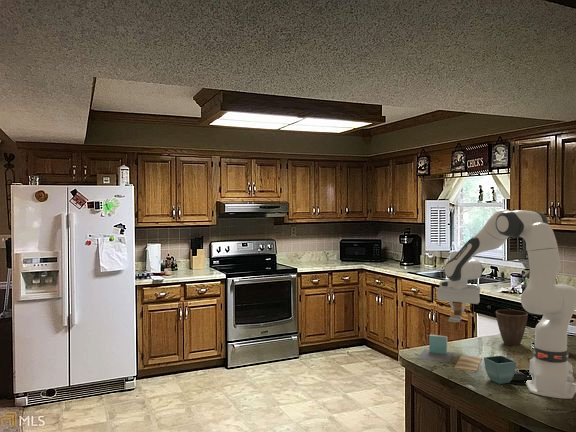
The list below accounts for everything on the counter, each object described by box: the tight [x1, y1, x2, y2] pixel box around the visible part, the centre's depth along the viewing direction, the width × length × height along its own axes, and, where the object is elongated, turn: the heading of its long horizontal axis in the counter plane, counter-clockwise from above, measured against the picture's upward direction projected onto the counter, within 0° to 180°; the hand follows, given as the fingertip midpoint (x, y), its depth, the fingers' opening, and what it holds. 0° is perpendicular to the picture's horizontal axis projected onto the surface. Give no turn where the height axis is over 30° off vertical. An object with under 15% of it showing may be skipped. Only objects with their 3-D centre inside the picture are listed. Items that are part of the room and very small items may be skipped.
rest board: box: [454, 354, 483, 373], centre depth 219 cm, size 20×9×1 cm, turn 153°
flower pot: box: [483, 355, 517, 385], centre depth 197 cm, size 9×9×9 cm
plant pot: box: [495, 309, 529, 347], centre depth 251 cm, size 15×15×16 cm
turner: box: [447, 302, 463, 323], centre depth 241 cm, size 15×5×7 cm, turn 152°
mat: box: [417, 348, 455, 363], centre depth 231 cm, size 16×14×1 cm
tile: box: [428, 334, 448, 354], centre depth 235 cm, size 2×8×8 cm, turn 62°
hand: (457, 310), depth 246 cm, fingers closed on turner, 3 cm apart
